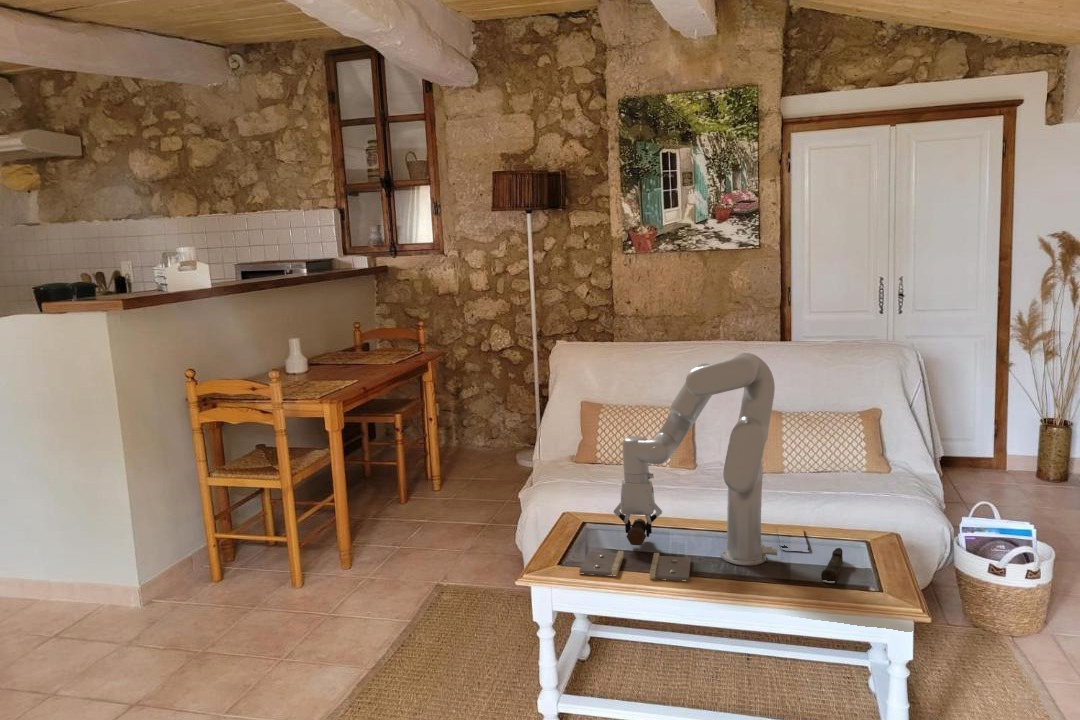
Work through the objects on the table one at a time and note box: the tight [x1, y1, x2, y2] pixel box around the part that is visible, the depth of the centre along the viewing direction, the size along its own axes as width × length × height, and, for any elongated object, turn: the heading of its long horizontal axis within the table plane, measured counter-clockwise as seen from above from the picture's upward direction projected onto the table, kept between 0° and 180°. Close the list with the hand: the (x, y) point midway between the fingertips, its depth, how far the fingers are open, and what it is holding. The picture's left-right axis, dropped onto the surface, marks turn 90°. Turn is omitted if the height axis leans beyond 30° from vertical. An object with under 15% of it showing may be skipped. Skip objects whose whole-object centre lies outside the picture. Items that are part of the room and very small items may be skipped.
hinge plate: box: [579, 550, 692, 581], centre depth 226 cm, size 30×15×2 cm, turn 77°
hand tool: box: [820, 547, 844, 583], centre depth 220 cm, size 19×4×5 cm, turn 149°
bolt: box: [626, 518, 647, 546], centre depth 243 cm, size 6×5×15 cm
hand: (638, 534), depth 243 cm, fingers closed on bolt, 5 cm apart
